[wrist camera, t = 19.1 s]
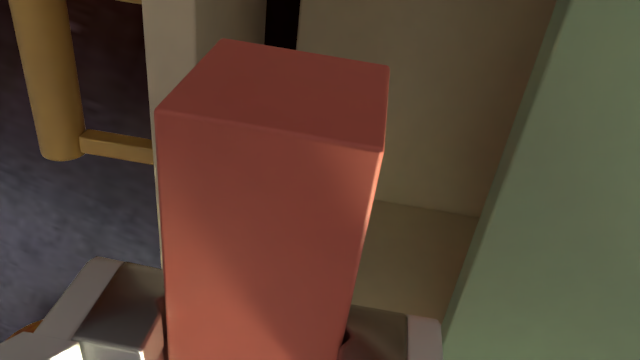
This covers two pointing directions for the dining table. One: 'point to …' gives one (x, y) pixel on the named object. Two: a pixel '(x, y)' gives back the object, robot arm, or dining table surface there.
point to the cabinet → (562, 205)
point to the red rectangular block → (266, 199)
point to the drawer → (401, 124)
